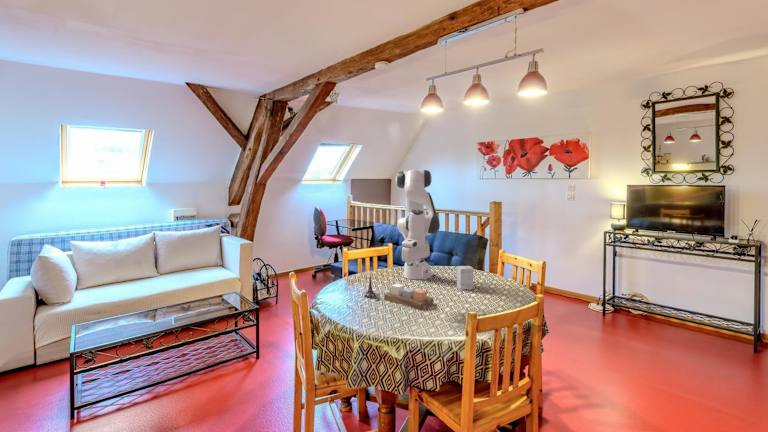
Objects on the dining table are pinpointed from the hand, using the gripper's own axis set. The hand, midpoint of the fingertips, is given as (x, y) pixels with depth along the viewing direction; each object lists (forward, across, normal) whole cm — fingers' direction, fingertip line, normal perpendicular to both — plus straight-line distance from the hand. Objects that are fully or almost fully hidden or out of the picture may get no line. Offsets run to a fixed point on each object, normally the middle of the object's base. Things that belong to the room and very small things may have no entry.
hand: (415, 267), depth 209 cm
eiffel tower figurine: (+21, +7, -26) cm, 34 cm away
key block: (+20, -1, -5) cm, 21 cm away
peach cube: (+17, -1, +2) cm, 18 cm away
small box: (+19, -42, +6) cm, 47 cm away
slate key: (+19, -1, -5) cm, 19 cm away
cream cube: (+17, -1, -13) cm, 21 cm away
